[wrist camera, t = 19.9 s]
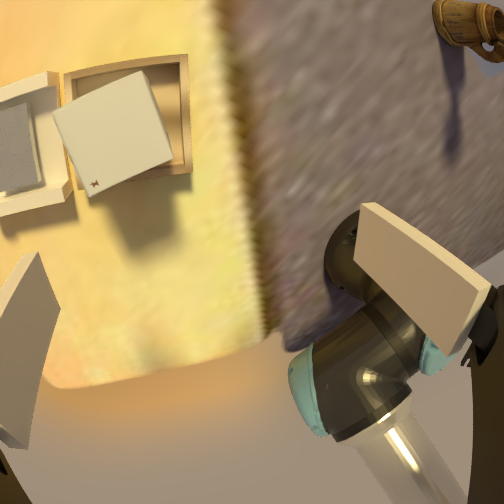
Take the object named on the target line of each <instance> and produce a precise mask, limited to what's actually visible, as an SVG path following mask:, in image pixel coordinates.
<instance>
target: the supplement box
mask: <svg viewBox="0 0 504 504" xmlns="http://www.w3.org/2000/svg"><path fill="white" fill-rule="evenodd" d="M52 117H53V119H54V122H55V124H56V127H57V129H58V132H59V134H60V136H61V139H62V141H63V143H64V146H65V148H66V150H67V153H68V155H69V158H70V160H71V162H72V164H73V166H74V168H75V170H76V172H77V175H78V177H79V179H80V181H81V183H82V185H83V187H84V189H85V191H86V194H87V196H88V197H89V198H91V197H93V196H95V195H97V194H99V193H101V192H102V191H104V190H106V189H108V188H110V187H112V186H114V185H116V184H118V183H120V182H122V181H125V180H127V179H129V178H131V177H133V176H135V175H137V174H139V173H141V172H144V171H146V170H148V169H150V168H153V167H155V166H157V165H160V164H162V163H165V162H167V161H169V160H172V159H173V158H174V156H173V153H172V149H171V144H170V139H169V135H168V132H167V130H166V127H165V124H164V121H163V118H162V115H161V113H160V110H159V107H158V104H157V102H156V99H155V96H154V94H153V91H152V89H151V86H150V83H149V80H148V78H147V76H146V75H145V74H144V73H143V72H142V71H138V72H136V73H133V74H131V75H128V76H126V77H123V78H121V79H119V80H116V81H114V82H112V83H109V84H107V85H105V86H102V87H100V88H98V89H96V90H94V91H92V92H90V93H87V94H85V95H83V96H81V97H79V98H77V99H75V100H73V101H71V102H70V103H68V104H66V105H64V106H62V107H60V108H58V109H57V110H55V111H53V113H52Z"/></svg>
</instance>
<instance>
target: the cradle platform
mask: <svg viewBox="0 0 504 504" xmlns="http://www.w3.org/2000/svg"><path fill="white" fill-rule="evenodd" d="M40 180H41V175H40V170H39V164H38V159H37V153H36V147H35V140H34V134H33V126H32V117H31V108H30V102H26V103H23V104H20V105H17V106H15V107H12V108H9V109H6V110H3V111H1V112H0V192H4V191H7V190H11V189H14V188H18V187H22V186H25V185H29V184H33V183H37V182H39V181H40Z"/></svg>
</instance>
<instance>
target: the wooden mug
mask: <svg viewBox="0 0 504 504" xmlns="http://www.w3.org/2000/svg"><path fill="white" fill-rule="evenodd" d="M432 11H433V18H434V22H435V25H436V28H437V30H438V32H439V34H440V35H441V37H442V38H443V39H444V40H445V41H446V42H448V43H449V44H450V45H452V46H454V47H459V46H468V47H469V48H471V49H472V50H474V51H475V52H476V53H477V54H478V55H479V56H481V57H482V58H484V59H485V60H487V61H489V62H492V63H500V62H503V61H504V13H503V11H501V9H500V8H498V7H494V6H492V5H489V4H486V3H479V4H477V3H469V2H463V1H455V0H436V1H435V2H434V4H433V10H432ZM485 42H486V43H488V44H489V45H491V46H494V49H493V51H491V52H488V51H486V50H485V49H484V48H483V47H482V43H485Z"/></svg>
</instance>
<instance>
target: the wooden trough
mask: <svg viewBox="0 0 504 504" xmlns="http://www.w3.org/2000/svg"><path fill="white" fill-rule="evenodd" d="M138 71H142V72H143V73H144V74H145V75H146V76H147V78H148V80H149V83H150V86H151V89H152V91H153V94H154V96H155V99H156V102H157V104H158V107H159V110H160V113H161V115H162V118H163V121H164V124H165V127H166V130H167V132H168V135H169V139H170V144H171V149H172V153H173V156H174V158H173V159H172V160H169V161H167V162H165V163H162V164H160V165H157V166H155V167H153V168H150V169H148V170H146V171H144V172H141V173H139V174H137V175H135V176H133V177H131V178H129V179H127V180H125V181H122V182H127V181H133V180H140V179H146V178H153V177H160V176H167V175H175V174H183V173H191V172H193V163H192V147H191V129H190V107H189V78H188V54H179V55H168V56H158V57H149V58H142V59H135V60H128V61H122V62H116V63H110V64H105V65H100V66H95V67H90V68H86V69H82V70H77V71H73V72H69V73H65V74H64V89H65V103H66V104H68V103H70V102H71V101H73V100H75V99H77V98H79V97H81V96H83V95H85V94H87V93H90V92H92V91H94V90H96V89H98V88H100V87H102V86H105V85H107V84H109V83H112V82H114V81H116V80H119V79H121V78H123V77H126V76H128V75H131V74H133V73H136V72H138ZM74 171H75V176H76V182H77V187H78V190H83V189H84V187H83V185H82V183H81V181H80V179H79V177H78V175H77V172H76V170H75V168H74ZM120 183H121V182H120Z"/></svg>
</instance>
